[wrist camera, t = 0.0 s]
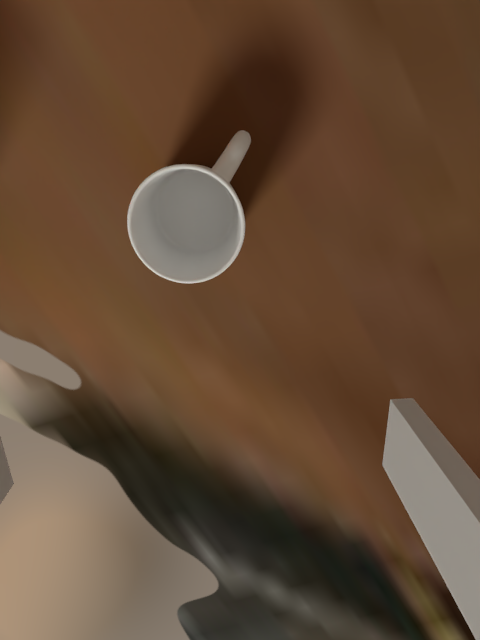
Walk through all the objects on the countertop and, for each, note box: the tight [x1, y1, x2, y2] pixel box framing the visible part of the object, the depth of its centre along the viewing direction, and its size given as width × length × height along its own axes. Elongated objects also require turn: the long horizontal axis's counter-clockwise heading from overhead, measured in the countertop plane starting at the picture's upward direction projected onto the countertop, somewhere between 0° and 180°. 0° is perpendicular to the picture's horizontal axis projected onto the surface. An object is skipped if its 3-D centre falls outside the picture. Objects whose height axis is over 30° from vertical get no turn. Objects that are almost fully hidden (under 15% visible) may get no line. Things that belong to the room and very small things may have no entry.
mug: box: [127, 130, 251, 283], centre depth 33 cm, size 12×8×10 cm
